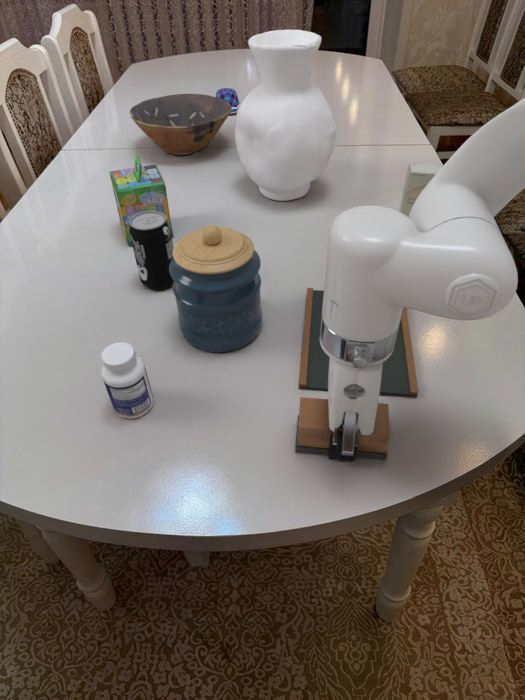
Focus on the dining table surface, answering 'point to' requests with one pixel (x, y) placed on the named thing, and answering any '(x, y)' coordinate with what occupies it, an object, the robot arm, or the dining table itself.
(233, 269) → the canister
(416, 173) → the cosmetic box
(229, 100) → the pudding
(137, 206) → the chalk box
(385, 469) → the dining table surface
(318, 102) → the vase
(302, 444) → the eraser
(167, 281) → the beverage can
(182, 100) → the bowl
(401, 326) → the board
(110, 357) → the pill bottle
